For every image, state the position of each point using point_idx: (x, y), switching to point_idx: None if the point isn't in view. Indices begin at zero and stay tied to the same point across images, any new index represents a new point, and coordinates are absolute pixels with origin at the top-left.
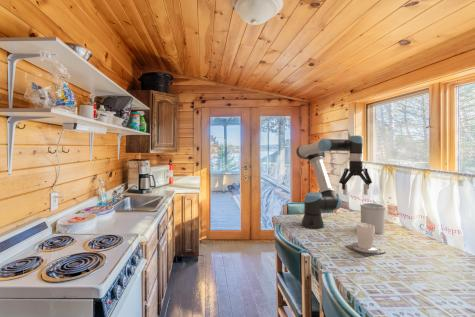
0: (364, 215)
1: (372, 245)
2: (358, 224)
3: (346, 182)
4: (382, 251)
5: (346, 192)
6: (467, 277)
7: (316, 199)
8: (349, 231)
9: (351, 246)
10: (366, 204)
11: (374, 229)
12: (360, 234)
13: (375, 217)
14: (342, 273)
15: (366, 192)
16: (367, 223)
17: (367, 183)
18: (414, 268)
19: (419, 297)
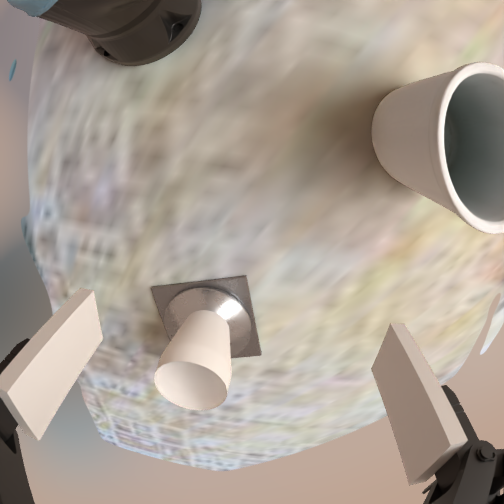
0: (405, 140)
1: (244, 324)
2: (177, 355)
3: (20, 463)
4: (252, 351)
5: (87, 359)
6: (325, 440)
7: (43, 6)
8: (290, 119)
9: (170, 300)
10: (498, 77)
11: (218, 398)
12: (168, 367)
13: (433, 200)
14: (92, 388)
15: (381, 390)
16: (217, 373)
17: (431, 492)
18: (258, 415)
19: (182, 451)
